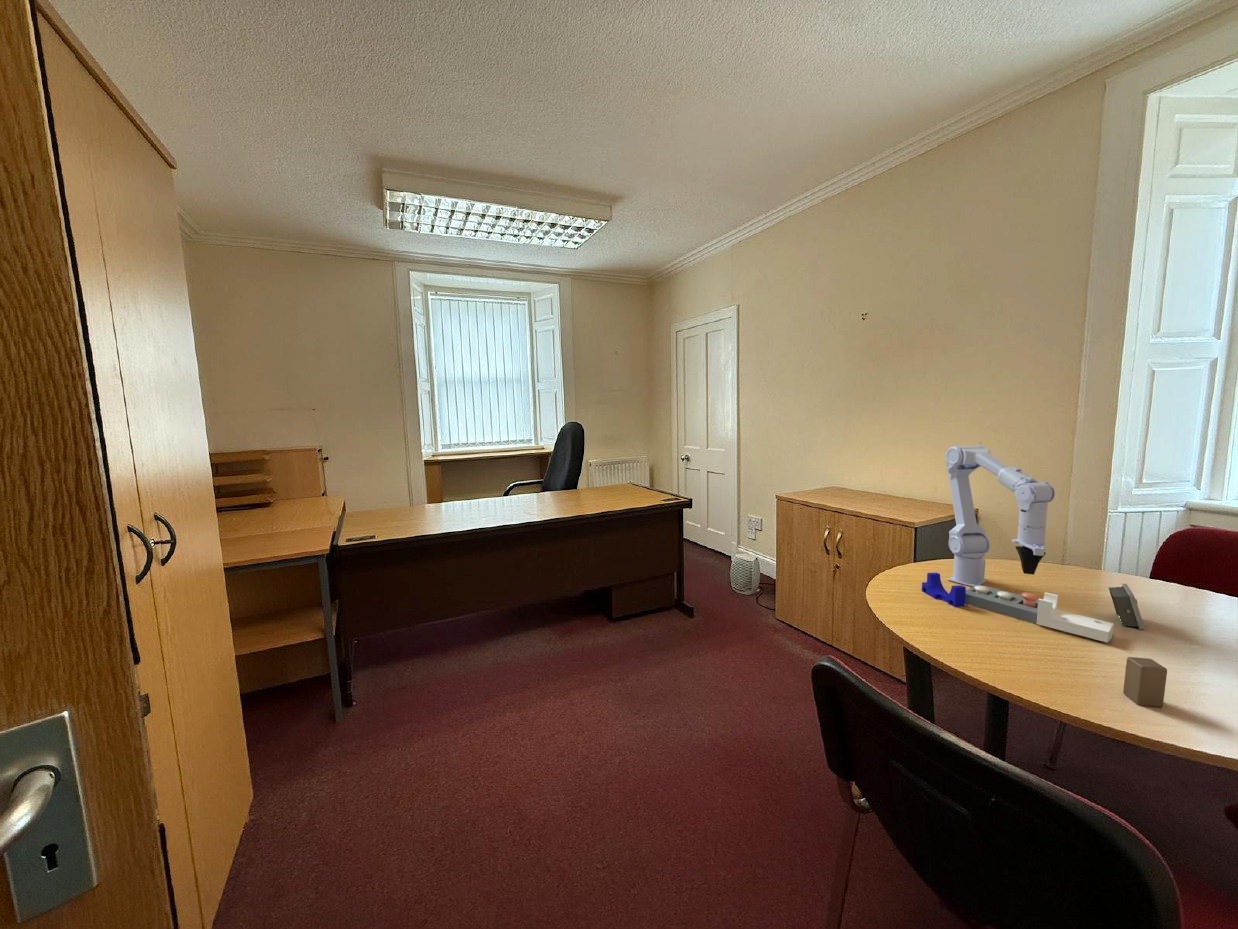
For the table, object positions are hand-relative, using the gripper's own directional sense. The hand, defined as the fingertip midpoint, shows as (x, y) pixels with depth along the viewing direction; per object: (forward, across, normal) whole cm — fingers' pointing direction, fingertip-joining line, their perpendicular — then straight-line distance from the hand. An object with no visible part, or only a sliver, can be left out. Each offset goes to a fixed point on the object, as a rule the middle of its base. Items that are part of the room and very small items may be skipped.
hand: (1028, 573), depth 132 cm
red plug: (+9, +4, 0) cm, 9 cm away
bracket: (+11, +11, +7) cm, 17 cm away
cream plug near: (+10, -2, -10) cm, 14 cm away
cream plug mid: (+10, +1, -5) cm, 11 cm away
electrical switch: (+11, 0, +20) cm, 23 cm away
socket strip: (+10, +1, -5) cm, 12 cm away
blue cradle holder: (+11, 0, -20) cm, 22 cm away
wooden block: (+11, +42, +8) cm, 44 cm away
